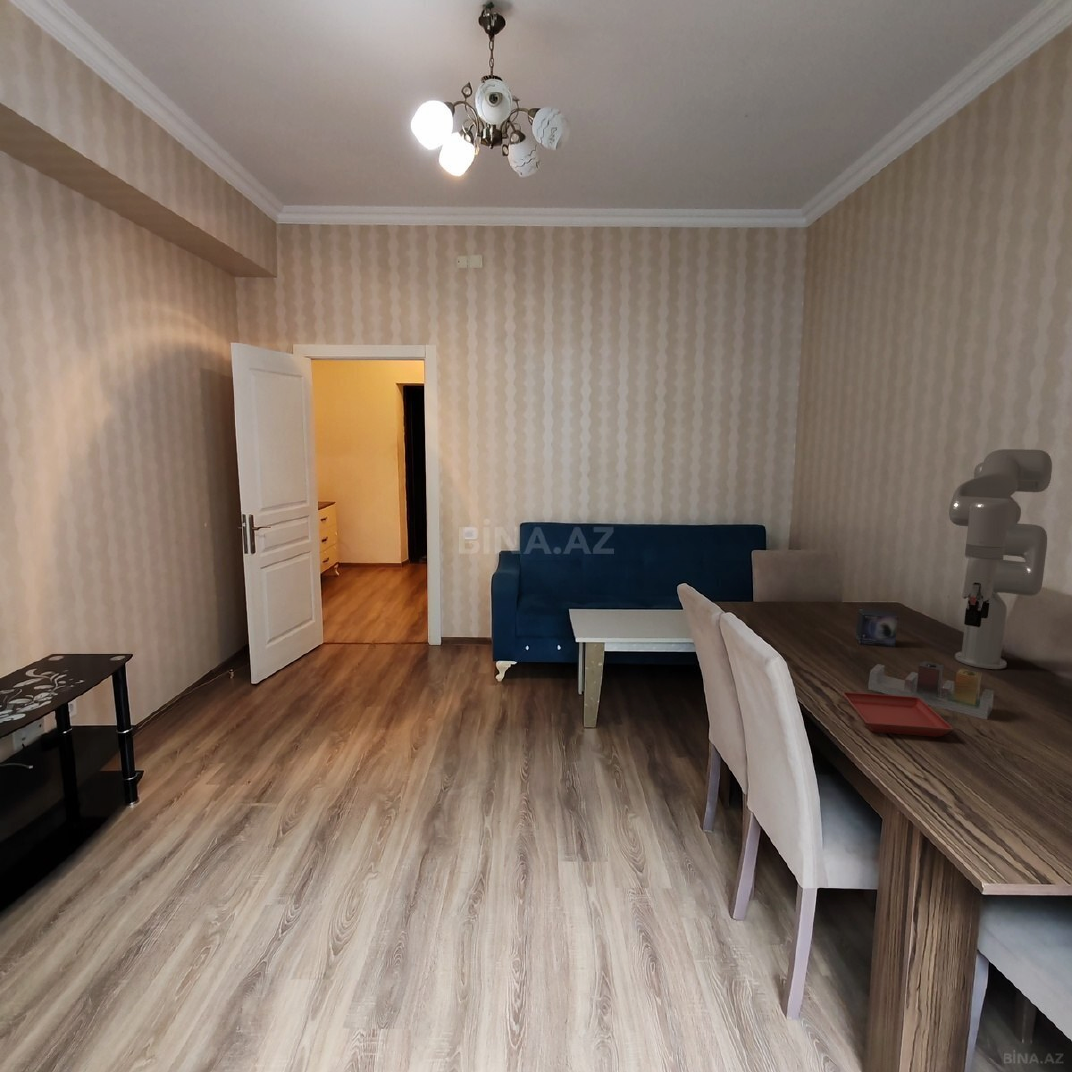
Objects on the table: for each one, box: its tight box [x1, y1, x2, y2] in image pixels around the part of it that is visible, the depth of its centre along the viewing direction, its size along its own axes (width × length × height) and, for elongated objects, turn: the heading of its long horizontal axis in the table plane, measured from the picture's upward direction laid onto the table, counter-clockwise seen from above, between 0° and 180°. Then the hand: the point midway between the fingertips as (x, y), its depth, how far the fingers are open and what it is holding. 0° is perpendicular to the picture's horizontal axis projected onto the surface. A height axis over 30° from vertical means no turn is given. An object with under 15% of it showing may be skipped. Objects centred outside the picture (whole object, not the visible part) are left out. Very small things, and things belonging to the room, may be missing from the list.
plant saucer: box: [842, 691, 954, 738], centre depth 146 cm, size 18×18×3 cm
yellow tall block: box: [953, 668, 983, 705], centre depth 152 cm, size 4×4×7 cm
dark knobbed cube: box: [916, 660, 944, 696], centre depth 158 cm, size 4×4×7 cm
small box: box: [854, 608, 899, 648], centre depth 201 cm, size 11×6×10 cm, turn 76°
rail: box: [867, 663, 995, 720], centre depth 158 cm, size 8×26×5 cm, turn 46°
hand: (976, 621), depth 150 cm, fingers open, 9 cm apart
